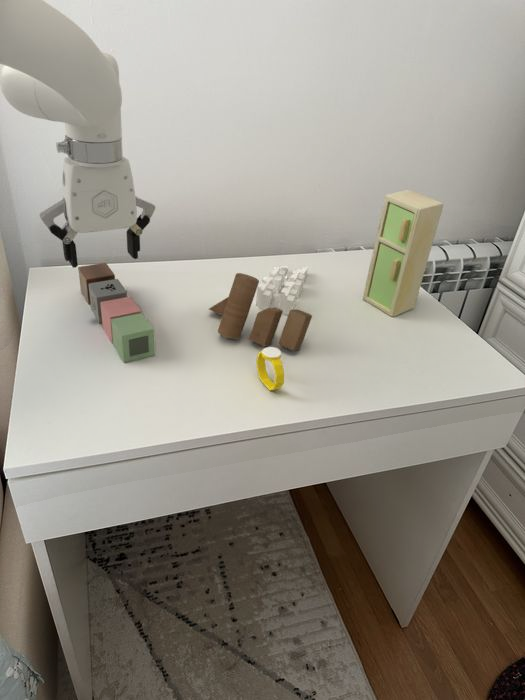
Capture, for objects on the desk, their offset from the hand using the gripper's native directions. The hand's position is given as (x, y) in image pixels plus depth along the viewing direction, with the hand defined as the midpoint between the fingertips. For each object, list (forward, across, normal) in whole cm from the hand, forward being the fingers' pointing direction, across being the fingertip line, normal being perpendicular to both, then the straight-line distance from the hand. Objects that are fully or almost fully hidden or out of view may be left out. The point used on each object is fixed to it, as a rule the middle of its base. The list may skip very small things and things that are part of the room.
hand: (103, 259), depth 86 cm
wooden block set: (+10, +20, -15) cm, 27 cm away
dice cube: (+10, 0, 0) cm, 11 cm away
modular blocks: (+10, +34, -4) cm, 35 cm away
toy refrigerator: (+10, +50, -16) cm, 53 cm away
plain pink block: (+10, 0, -6) cm, 12 cm away
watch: (+11, +16, -28) cm, 34 cm away
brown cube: (+10, 0, +7) cm, 12 cm away
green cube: (+10, 0, -12) cm, 16 cm away
